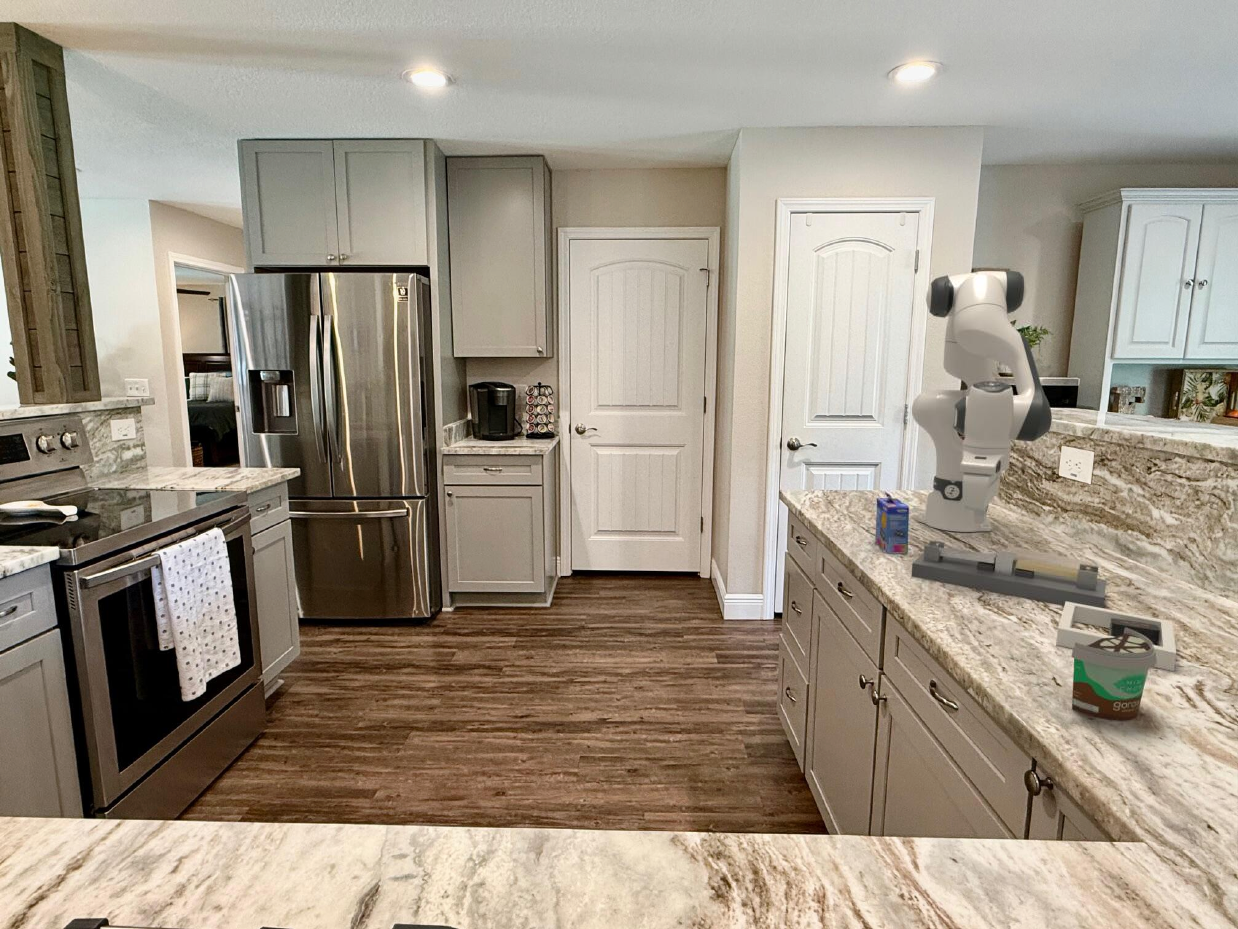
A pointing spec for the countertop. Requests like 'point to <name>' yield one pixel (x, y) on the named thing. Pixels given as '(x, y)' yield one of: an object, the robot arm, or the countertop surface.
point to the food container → (1112, 675)
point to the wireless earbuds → (1135, 629)
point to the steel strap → (967, 555)
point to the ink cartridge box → (892, 525)
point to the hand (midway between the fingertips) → (979, 521)
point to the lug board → (1011, 578)
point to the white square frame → (1103, 619)
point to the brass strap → (1048, 568)
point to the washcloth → (1045, 558)
